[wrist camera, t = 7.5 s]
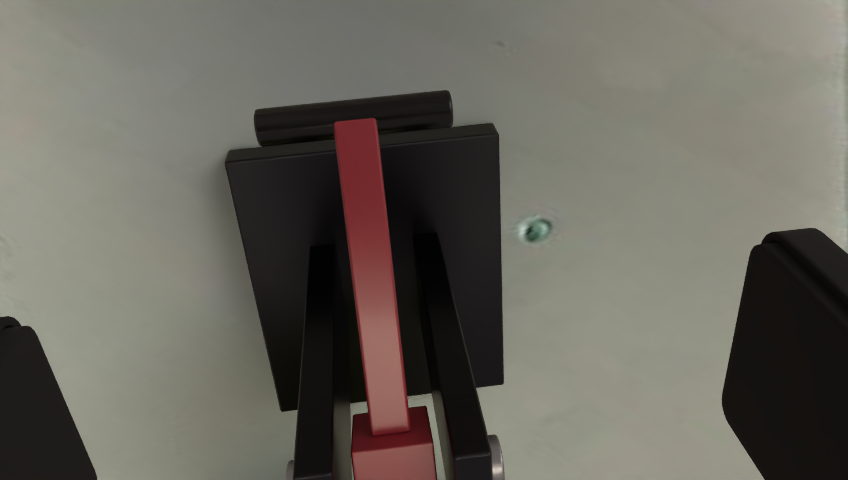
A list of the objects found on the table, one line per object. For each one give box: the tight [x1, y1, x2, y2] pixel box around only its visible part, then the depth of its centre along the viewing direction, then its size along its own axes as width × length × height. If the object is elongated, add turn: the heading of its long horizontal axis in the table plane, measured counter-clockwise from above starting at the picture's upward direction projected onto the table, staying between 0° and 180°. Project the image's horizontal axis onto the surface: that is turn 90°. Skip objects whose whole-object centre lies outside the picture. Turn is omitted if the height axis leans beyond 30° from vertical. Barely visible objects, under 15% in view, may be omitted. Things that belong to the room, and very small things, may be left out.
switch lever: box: [254, 90, 453, 480], centre depth 20 cm, size 12×5×2 cm, turn 5°
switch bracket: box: [225, 123, 505, 480], centre depth 24 cm, size 12×10×13 cm
